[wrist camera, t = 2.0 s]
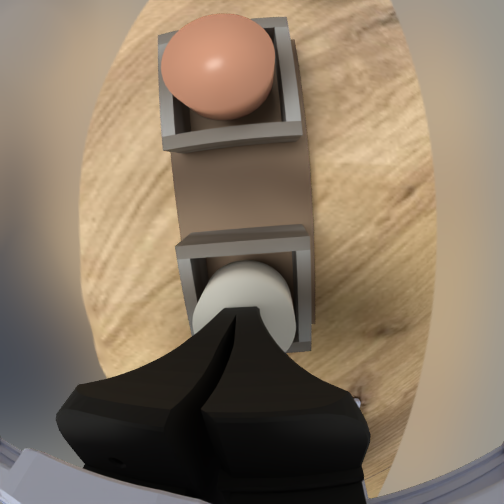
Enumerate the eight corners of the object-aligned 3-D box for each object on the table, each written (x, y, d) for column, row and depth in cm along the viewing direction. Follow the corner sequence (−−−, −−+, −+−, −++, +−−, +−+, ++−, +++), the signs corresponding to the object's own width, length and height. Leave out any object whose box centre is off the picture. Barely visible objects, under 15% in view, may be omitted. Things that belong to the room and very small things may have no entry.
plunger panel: (312, 313, 17) (322, 351, 13) (201, 320, 18) (185, 357, 14) (292, 47, 13) (299, 15, 9) (171, 62, 13) (146, 37, 10)
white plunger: (292, 335, 13) (296, 365, 11) (211, 339, 14) (201, 368, 11) (289, 256, 12) (294, 276, 10) (198, 263, 13) (184, 283, 10)
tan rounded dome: (278, 115, 11) (280, 102, 8) (182, 127, 11) (163, 117, 9) (268, 34, 10) (268, 8, 7) (178, 47, 10) (160, 25, 8)
